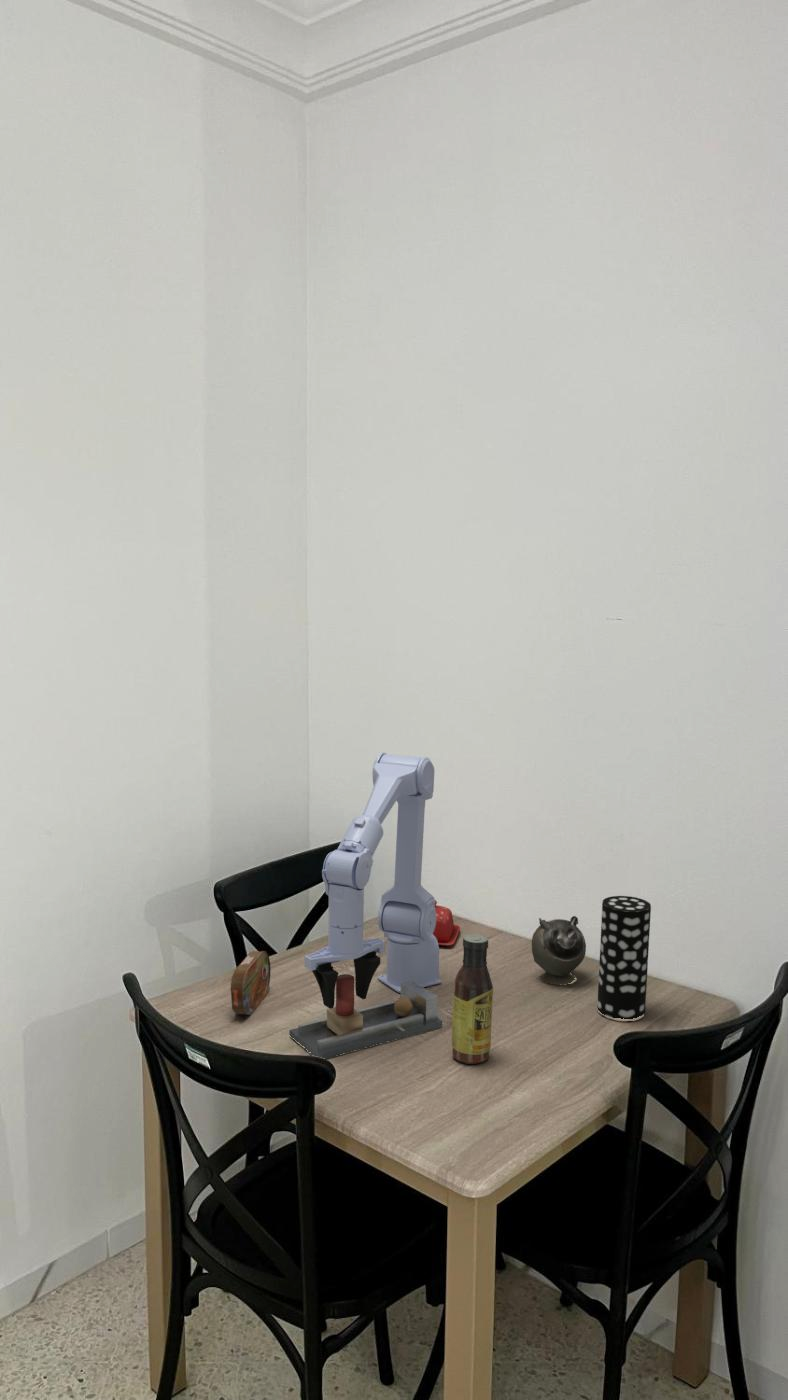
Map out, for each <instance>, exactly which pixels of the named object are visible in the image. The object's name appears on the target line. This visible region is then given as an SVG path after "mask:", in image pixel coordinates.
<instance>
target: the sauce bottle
mask: <svg viewBox="0 0 788 1400" xmlns="http://www.w3.org/2000/svg"><path fill="white" fill-rule="evenodd" d="M462 947H463V958H462V965H461V967H460V968H459V970H458V972H457V974H456V975H455V978H454V992H453V1006H452V1007H453V1008H452V1030H451V1047H452V1057H453V1058H454V1059H455V1060H456V1061H458V1062H460V1063H464V1064H467V1065H470V1064H471V1065H473V1064H481V1063H483V1062H486V1061H487V1060H488V1058H489V1055H490V1050H491V1042H492V1041H491V1039H492V1023H493V1021H492V1019H493V1001H494V1000H493V998H494V997H493V996H494V986H493V981H492V978H491V975H490V973H489V968H488V965H487V964H488V961H487V956H488V955H487V952H488V948H489V938H488V937H486V936H485V935H482V934H475V933H474V934H472V933H471V934H465V936H463V937H462Z"/></svg>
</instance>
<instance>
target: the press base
mask: <svg viewBox="0 0 788 1400" xmlns="http://www.w3.org/2000/svg"><path fill="white" fill-rule="evenodd" d="M399 996H400V997H399V998H402V997H405V998H408V999H409V1000H410V1001H411V1002H412V1005H413V1009H412V1012H411V1013H410V1014H409V1015H408V1016H405V1017H402V1016H399V1015H397V1014H396V1012H395V1010H394V1004H395V1002H396V1000H397V999H396V1000H391V1001H387V1002H384V1003H380V1004H376V1005H372V1006H367V1007H364V1008H360V1009H355V1010H356V1011H358V1012H359V1013H360V1014H362V1015H363V1029H360V1030H356V1031H352V1032H348V1033H344V1034H341V1035H337V1034H336V1033H335V1032H333V1031H332V1030H331V1029H330V1028H328V1027H327V1017H325V1018H321V1019H320V1018H319V1019H316V1020H313V1021H309V1022H308V1021H307V1022H303V1023H301V1024H300V1023H299V1024H298V1027H295V1028H291V1029H289V1032H288V1034H289V1035H290V1036H291V1037H292V1038H294V1039H295V1040H296V1041H297V1042H299V1043H300V1044H301V1045H302V1046H304V1047H305V1049H307V1050H308V1052H311V1053H310V1054H309V1055H310V1056H311V1055H314V1056H318V1057H322V1058H325V1060H328V1059H332V1058H331V1057H333V1058H335V1056H336V1055H340V1054H343V1053H347V1052H351V1051H354V1050H358V1049H362V1048H365V1047H369V1048H371V1047H370V1046H373V1045H376V1044H380V1043H384V1044H386V1043H385V1042H387V1041H391V1042H393V1041H392V1040H395V1039H398V1040H400V1039H399V1038H402V1039H404V1038H403V1037H405V1038H408V1037H407V1036H409V1037H412V1036H411V1035H413V1036H416V1035H420V1034H422V1033H423V1032H424V1033H427V1032H431V1031H433V1030H434V1029H435V1030H438V1029H442V1028H443V1020H442V1019H441V1018H439V1017H438V1013H439V1012H438V1010H439V996H437V995H436V994H435V993H433V992H432V991H430V990H428V989H426V988H425V987H422V986H420V985H419V984H417V983H415V982H414V981H408V982H403V983H401V993H400V995H399ZM441 1027H442V1028H441ZM437 1028H438V1029H437ZM430 1030H431V1031H430ZM435 1030H434V1031H435ZM395 1041H396V1040H395ZM387 1043H388V1042H387ZM380 1045H381V1044H380ZM376 1046H377V1045H376ZM373 1047H374V1046H373ZM365 1049H366V1048H365ZM362 1050H363V1049H362ZM358 1051H359V1050H358ZM308 1052H307V1053H308ZM351 1053H352V1052H351ZM347 1054H348V1053H347ZM340 1056H341V1055H340ZM336 1057H337V1056H336Z"/></svg>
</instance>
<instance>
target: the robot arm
mask: <svg viewBox="0 0 788 1400" xmlns="http://www.w3.org/2000/svg"><path fill="white" fill-rule="evenodd" d="M372 784H373V787H372V789H371V792H370V794H369V798H368V800H367V802H366V804H365V807H364V810H363V812H362V815H358V816H355V817H354V818H353V819H352V821H351V822H350V825H349V826H348V829H346V832H345V834H344V836H343V838H342V839H341V841H340V843H339V845H338V847H337V849H334V850H333V851H330V852H329V853H328V854H327V855H326V857H325V859H324V861H323V866H322V870H321V877H322V880H323V883H324V886H325V887H324V888H325V889H324V890H325V894H326V895H327V896H328V927H327V928H328V931H327V932H328V944H327V945H326V946H325V947H323V948H320V949H319V950H317V951H315V952H312V953H310V954H306V955H305V956H304V967H305V968H306V969H307V970H309V971H311V972H312V974H313V975H314V977H315V980H316V981H317V984H318V987H319V990H320V994H321V997H322V998H321V999H322V1003H323V1006H325V1007H327V1009H331V1008H335V1003H336V980H337V977H338V976H339V975H340V974H339V972H338V971H337V970H335V969H334V967H333V965H332V964H336V963H340V962H344V961H350V960H351V961H352V960H353V967H354V973H355V976H354V991H355V996H357V997H358V998H360V999H362V1000H365V999H367V996H368V992H369V989H370V986H371V982H372V979H373V976H375V975H374V974H375V973H376V972H377V970H378V968H379V966H380V965H381V957H380V956H378V955H377V953H378V954H383V953H385V950H386V973H385V974H381V975H378V976H377V980H378V981H380V982H381V983H383V984H385V985H386V986H387V987H390V988H391V989H392V990H393V991H394V992H395V991H396V992H397V993H398V994H401V983H403V982H408V981H414V982H415V983H417V984H419V985H420V986H422V987H423V988H425V987H426V988H427V987H431V986H434V985H439V984H441V983H442V980H441V979H440V976H439V975H440V947H439V946H440V945H438V941H437V939H436V937H435V936H434V935H433V932H434V929H435V926H436V911H435V901H434V900H435V897H434V896H433V894H432V893H430V891H428V890H427V889H426V888H425V887H424V886H423V885H422V869H423V868H422V866H423V849H424V832H425V831H424V829H425V811H426V809H425V808H426V801H427V800H430V799H431V800H432V799H433V796H434V794H433V793H434V788H435V766H434V764H433V762H432V761H431V759H430V758H429V757H427V756H426V757H425V756H423V757H417V756H410V755H400V754H389V753H386V752H381V753H379V754H378V755H377V757H376V758H375V760H374V762H373V764H372ZM396 802H397V819H396V820H397V823H396V825H397V826H396V844H395V862H394V863H395V866H394V882H393V885H392V886H390V887H389V888H388V889H386V890H385V891H384V892H383V893H382V894H381V897H380V898H381V899H380V905H379V909H378V912H377V924H378V927H379V930H380V931H381V932H383V938H386V941H387V942H386V941H385V940H384V939H382V938H379V937H377V938H376V937H375V938H371V939H364V910H365V909H364V907H365V905H364V904H365V903H364V901H365V900H364V898H365V897H364V895H365V887H366V886H367V885H368V883H369V881H370V877H371V871H372V866H373V863H374V860H373V856H374V854H375V852H376V851H377V848H378V846H379V844H380V843H381V840H382V838H383V836H384V829H383V826H382V824H383V823H384V821H385V819H386V818H387V816H388V814H390V811H391V810H392V808H393V806H394V805H395V803H396ZM386 948H387V949H386Z"/></svg>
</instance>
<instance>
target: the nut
mask: <svg viewBox="0 0 788 1400" xmlns="http://www.w3.org/2000/svg"><path fill="white" fill-rule="evenodd" d="M412 1009H413V1005H412V1002H411V1001H410V1000H409V999H408V998H405V997H402V998H400V997H399V998H397V999H396V1002H395V1004H394V1010H395V1012H396V1014H397V1015H399V1016H402V1017H405V1016H408V1015H409V1014H410V1013H411V1012H412Z"/></svg>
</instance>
